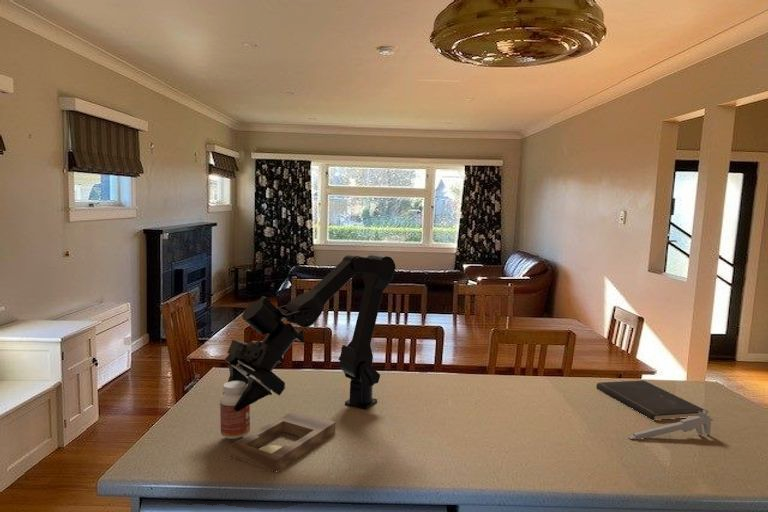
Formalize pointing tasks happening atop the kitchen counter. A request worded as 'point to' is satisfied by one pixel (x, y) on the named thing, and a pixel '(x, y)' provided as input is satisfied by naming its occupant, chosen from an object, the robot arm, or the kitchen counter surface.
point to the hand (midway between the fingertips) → (228, 405)
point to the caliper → (679, 427)
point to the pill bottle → (233, 411)
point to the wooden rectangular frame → (277, 456)
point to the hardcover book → (649, 399)
